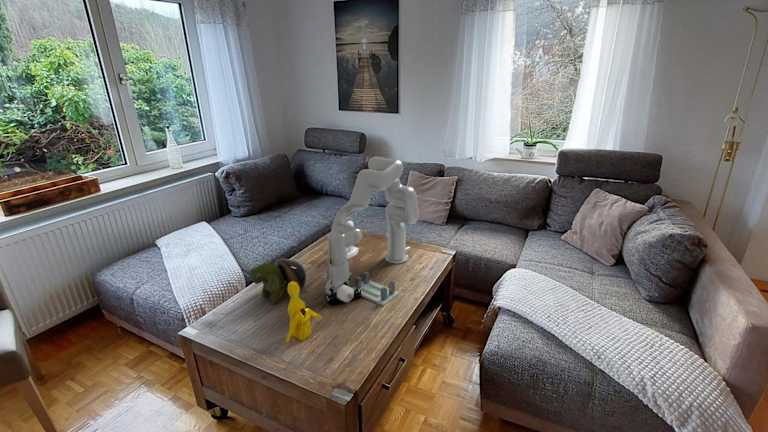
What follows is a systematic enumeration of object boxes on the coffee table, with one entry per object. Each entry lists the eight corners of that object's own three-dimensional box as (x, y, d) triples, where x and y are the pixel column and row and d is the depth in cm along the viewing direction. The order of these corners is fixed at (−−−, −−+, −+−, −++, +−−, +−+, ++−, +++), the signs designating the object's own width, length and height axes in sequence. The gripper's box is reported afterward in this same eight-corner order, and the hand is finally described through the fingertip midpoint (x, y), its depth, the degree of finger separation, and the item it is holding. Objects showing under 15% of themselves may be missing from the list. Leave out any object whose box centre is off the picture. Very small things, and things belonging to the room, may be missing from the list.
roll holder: (366, 281, 177) (366, 269, 175) (398, 294, 166) (398, 282, 164) (351, 291, 169) (350, 278, 167) (383, 306, 158) (383, 293, 156)
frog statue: (307, 303, 169) (257, 313, 151) (289, 288, 179) (239, 296, 161) (315, 265, 166) (265, 270, 147) (296, 252, 176) (246, 255, 157)
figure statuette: (291, 351, 133) (284, 299, 125) (276, 343, 137) (269, 292, 129) (325, 325, 146) (322, 277, 138) (311, 318, 150) (307, 271, 143)
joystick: (347, 259, 198) (345, 225, 191) (336, 256, 202) (334, 222, 195) (360, 252, 206) (359, 218, 199) (349, 248, 210) (348, 216, 203)
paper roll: (333, 288, 172) (332, 275, 169) (357, 299, 163) (357, 286, 160) (323, 294, 167) (321, 282, 164) (347, 306, 158) (346, 293, 156)
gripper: (345, 250, 167) (347, 284, 173) (316, 264, 154) (319, 301, 160) (358, 254, 162) (359, 289, 169) (329, 270, 150) (331, 307, 156)
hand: (339, 295), depth 164 cm, fingers closed on paper roll, 6 cm apart
